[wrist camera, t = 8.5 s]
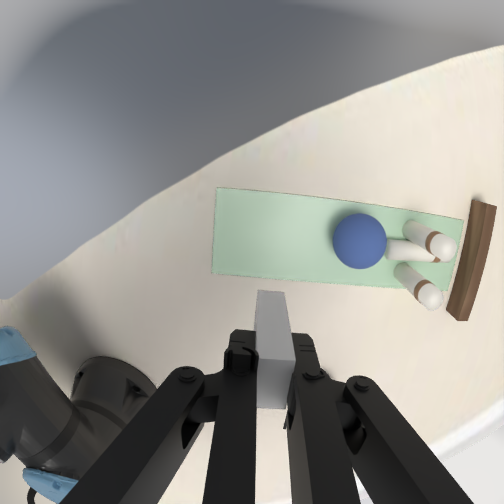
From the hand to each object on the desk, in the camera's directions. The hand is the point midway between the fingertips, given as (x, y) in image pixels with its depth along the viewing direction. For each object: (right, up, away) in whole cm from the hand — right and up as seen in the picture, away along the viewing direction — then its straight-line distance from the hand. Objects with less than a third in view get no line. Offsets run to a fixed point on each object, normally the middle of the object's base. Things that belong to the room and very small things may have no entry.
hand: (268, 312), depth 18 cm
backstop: (+29, +3, +17) cm, 34 cm away
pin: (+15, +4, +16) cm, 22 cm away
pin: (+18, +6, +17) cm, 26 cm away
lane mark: (+11, +4, +17) cm, 21 cm away
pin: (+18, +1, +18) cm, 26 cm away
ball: (+11, +5, +14) cm, 18 cm away
